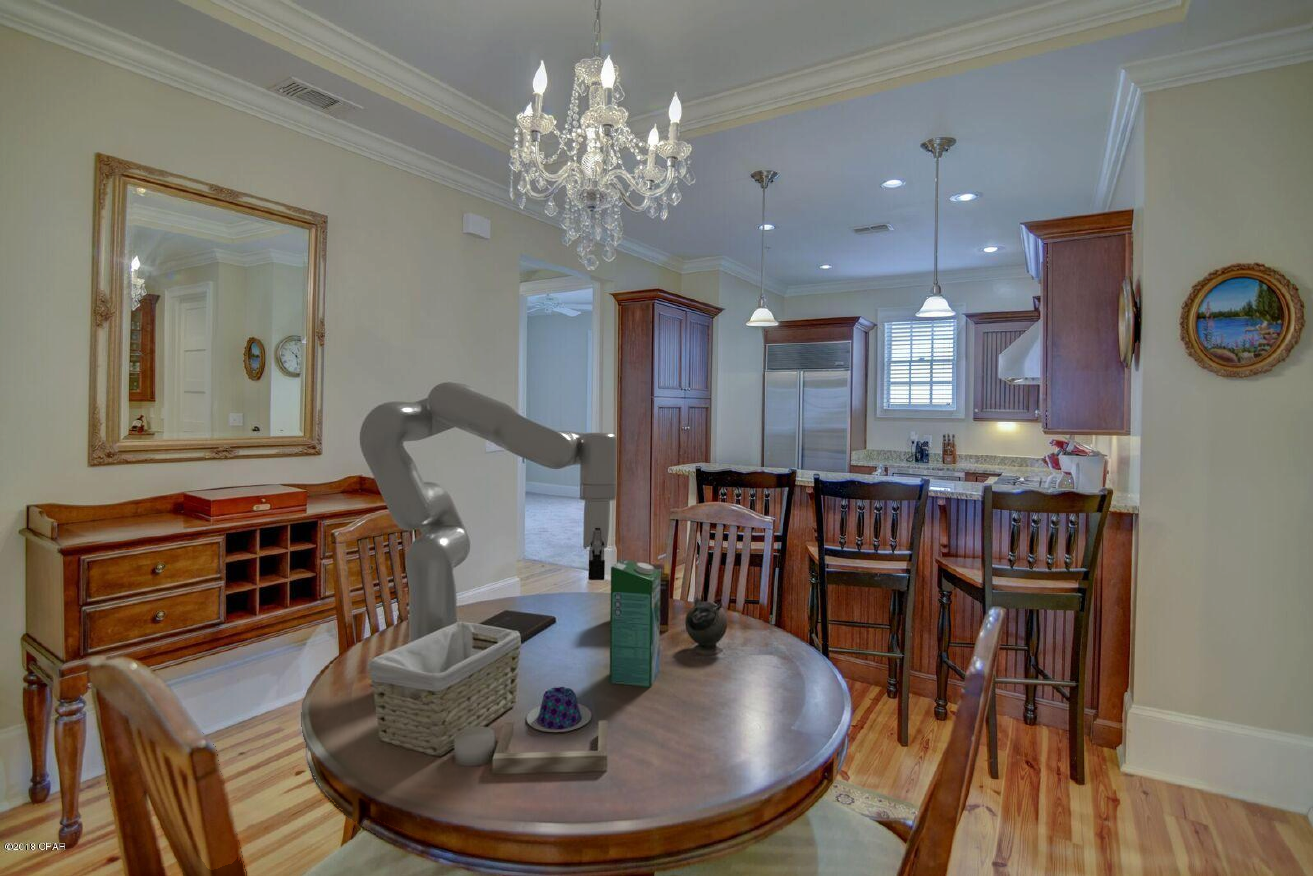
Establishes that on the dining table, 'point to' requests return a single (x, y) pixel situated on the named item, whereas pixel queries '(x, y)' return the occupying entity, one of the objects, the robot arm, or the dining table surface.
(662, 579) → the supplement box
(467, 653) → the storage basket
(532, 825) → the dining table surface
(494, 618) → the hardcover book
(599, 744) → the display stand
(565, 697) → the pudding
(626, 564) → the milk carton
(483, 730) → the egg
